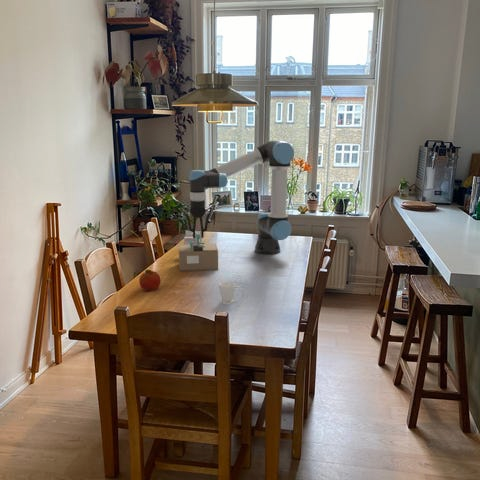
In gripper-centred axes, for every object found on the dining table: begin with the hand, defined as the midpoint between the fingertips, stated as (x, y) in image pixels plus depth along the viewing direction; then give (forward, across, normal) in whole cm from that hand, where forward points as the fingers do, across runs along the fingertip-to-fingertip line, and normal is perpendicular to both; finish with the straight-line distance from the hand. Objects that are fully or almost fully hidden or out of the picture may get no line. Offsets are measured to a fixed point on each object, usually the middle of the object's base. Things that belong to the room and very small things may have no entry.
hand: (198, 243), depth 248 cm
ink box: (+12, +3, -17) cm, 21 cm away
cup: (+12, -12, +56) cm, 59 cm away
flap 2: (+2, -4, +3) cm, 6 cm away
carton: (+12, 0, +3) cm, 12 cm away
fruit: (+12, +23, +36) cm, 45 cm away
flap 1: (+2, +6, +4) cm, 8 cm away
